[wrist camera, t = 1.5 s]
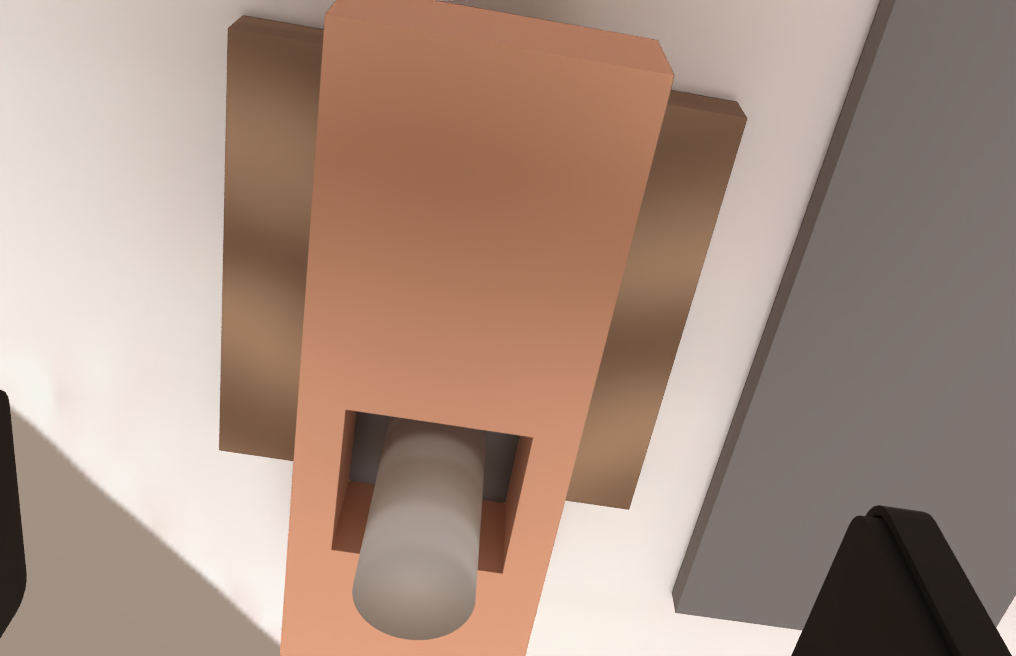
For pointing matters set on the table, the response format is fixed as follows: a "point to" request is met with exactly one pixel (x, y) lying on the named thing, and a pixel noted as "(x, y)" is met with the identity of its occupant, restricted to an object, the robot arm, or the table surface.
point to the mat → (884, 333)
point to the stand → (419, 444)
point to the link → (460, 281)
